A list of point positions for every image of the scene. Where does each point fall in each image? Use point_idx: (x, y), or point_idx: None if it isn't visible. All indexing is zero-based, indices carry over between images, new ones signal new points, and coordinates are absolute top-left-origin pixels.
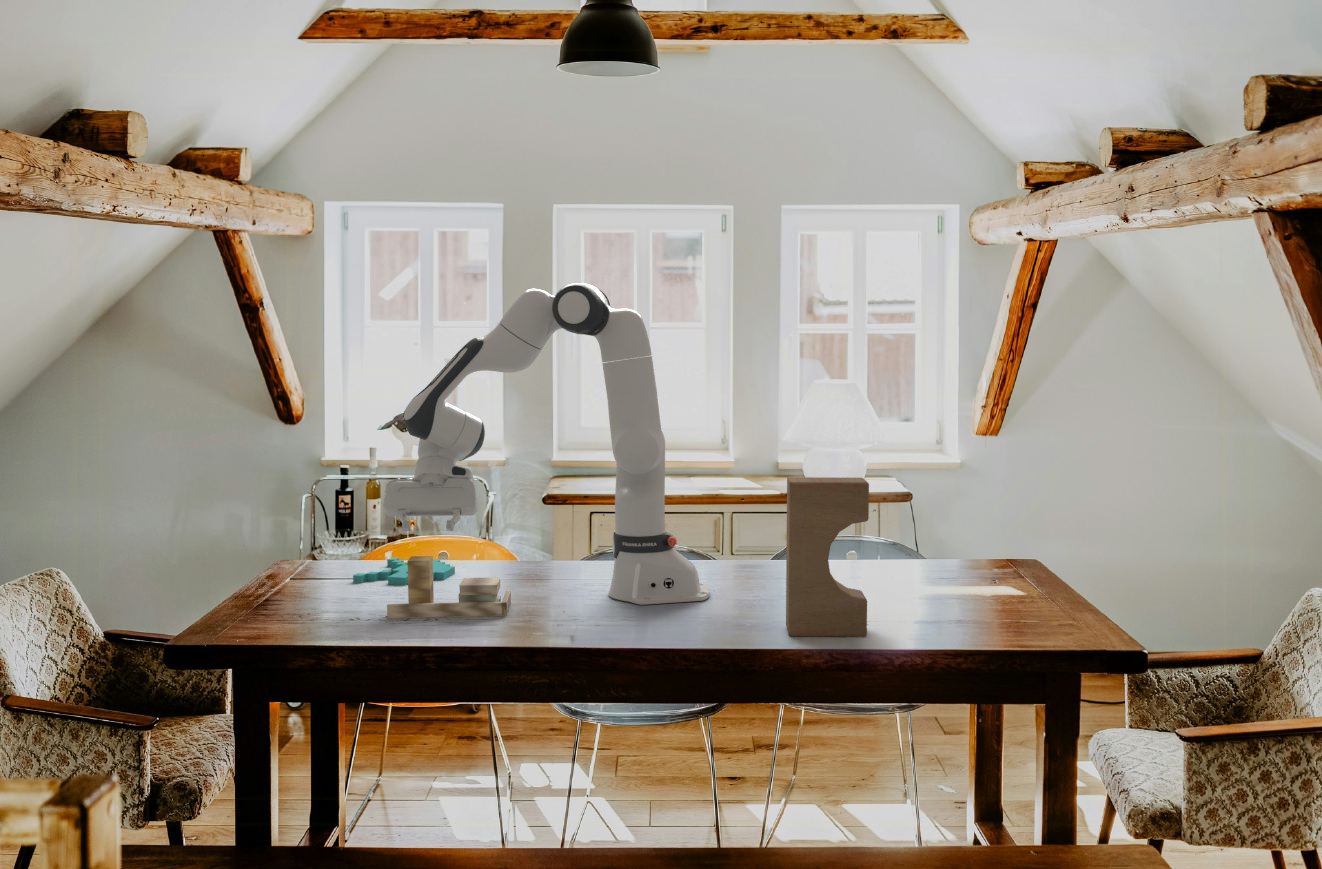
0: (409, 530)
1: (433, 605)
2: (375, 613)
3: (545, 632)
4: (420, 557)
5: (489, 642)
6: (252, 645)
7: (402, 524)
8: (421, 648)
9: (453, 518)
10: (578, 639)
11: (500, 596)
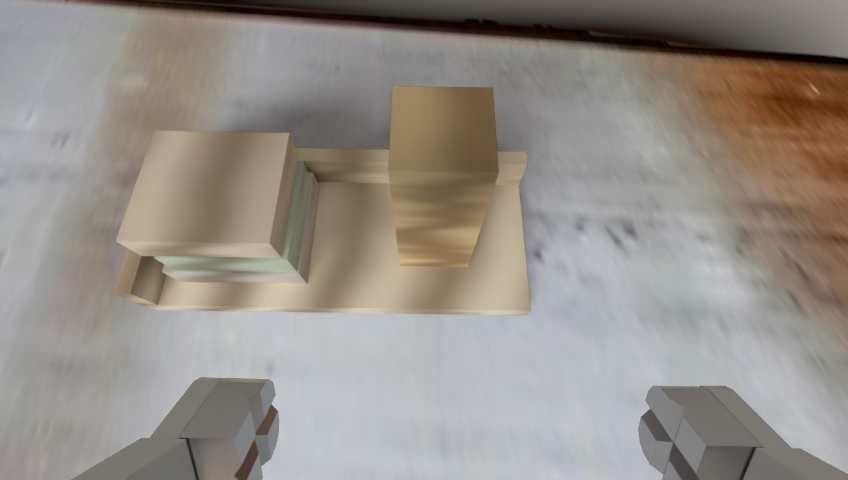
0: (641, 424)
1: (385, 152)
2: (584, 289)
3: (116, 87)
4: (445, 145)
5: (254, 37)
6: (754, 56)
7: (745, 403)
8: (393, 17)
9: (134, 457)
10: (61, 40)
11: (164, 266)
